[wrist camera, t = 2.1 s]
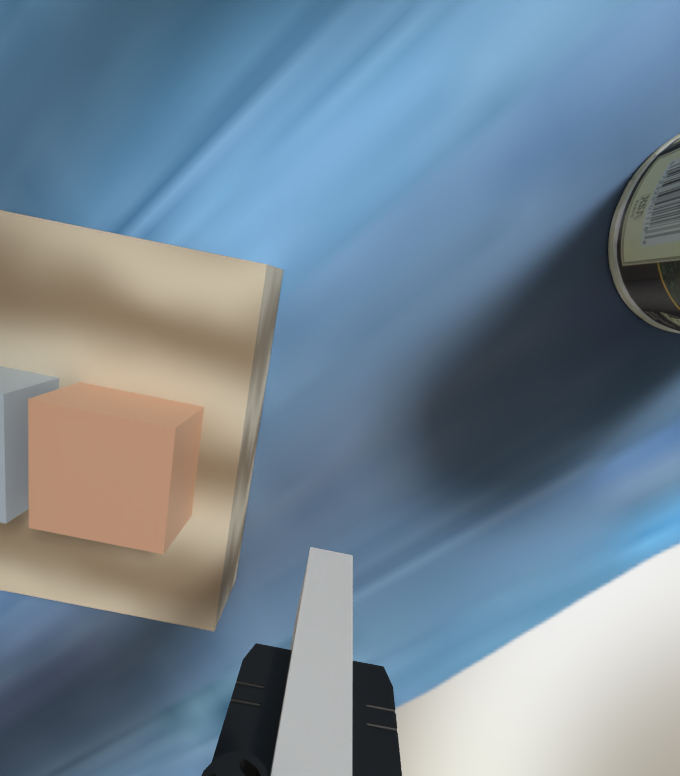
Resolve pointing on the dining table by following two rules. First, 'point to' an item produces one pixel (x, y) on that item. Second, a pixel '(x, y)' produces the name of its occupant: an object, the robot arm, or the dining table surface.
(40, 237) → the wavy grain square board
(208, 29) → the dining table surface
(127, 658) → the dining table surface
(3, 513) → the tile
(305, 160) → the dining table surface
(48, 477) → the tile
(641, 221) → the coffee can
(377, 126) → the dining table surface
